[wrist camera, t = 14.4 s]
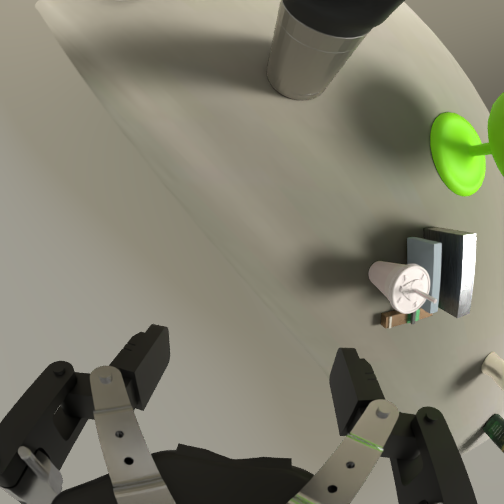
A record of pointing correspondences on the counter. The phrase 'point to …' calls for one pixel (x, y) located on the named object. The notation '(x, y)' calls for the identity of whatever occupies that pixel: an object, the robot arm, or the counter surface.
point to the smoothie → (402, 284)
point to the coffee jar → (496, 430)
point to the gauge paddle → (426, 267)
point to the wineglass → (466, 149)
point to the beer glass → (494, 369)
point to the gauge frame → (447, 276)
